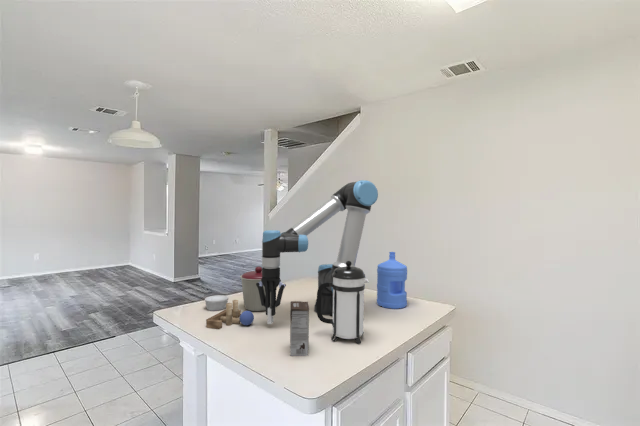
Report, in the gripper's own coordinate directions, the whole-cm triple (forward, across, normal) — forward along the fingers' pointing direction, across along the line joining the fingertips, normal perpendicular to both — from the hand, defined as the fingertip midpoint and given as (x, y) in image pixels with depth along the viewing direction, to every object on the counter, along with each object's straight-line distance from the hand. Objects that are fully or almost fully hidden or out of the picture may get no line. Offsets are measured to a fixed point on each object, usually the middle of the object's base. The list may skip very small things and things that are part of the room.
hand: (270, 322), depth 133 cm
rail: (+2, +22, 0) cm, 23 cm away
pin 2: (+2, +18, -2) cm, 19 cm away
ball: (-1, +11, 0) cm, 11 cm away
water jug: (+2, -47, -50) cm, 69 cm away
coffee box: (+2, -19, +17) cm, 26 cm away
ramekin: (+2, +37, -16) cm, 40 cm away
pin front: (+1, +14, 0) cm, 15 cm away
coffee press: (+2, -32, +1) cm, 32 cm away
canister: (+2, +17, -22) cm, 28 cm away
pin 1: (+2, +18, +2) cm, 19 cm away
